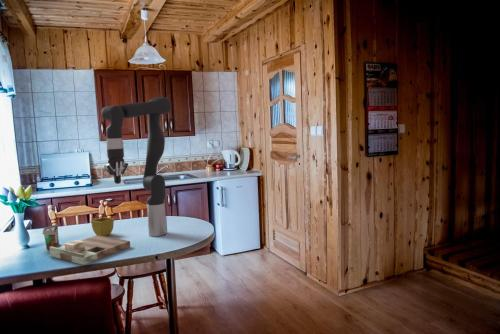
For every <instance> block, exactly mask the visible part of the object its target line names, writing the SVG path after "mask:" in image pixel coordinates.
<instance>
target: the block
mask: <svg viewBox="0 0 500 334" xmlns="http://www.w3.org/2000/svg"><path fill="white" fill-rule="evenodd" d="M64 246H65V250H69V251H73V252H80V251H83V250H85V242H84V241H80V240H79V239H75V240H72V241H68V242H65V243H64Z"/></svg>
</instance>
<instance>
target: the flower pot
mask: <svg viewBox="0 0 500 334" xmlns="http://www.w3.org/2000/svg"><path fill="white" fill-rule="evenodd" d="M114 222H115V218H111V217H104V216H103V217H99V218H96V219H92V220H90V223H91V227H92V231H93V233H94V234H95V236H96V235H100V236H105V237H108V236H109V235H111V234H112V232H113V230H114V226H115V225H114Z"/></svg>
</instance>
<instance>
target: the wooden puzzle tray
mask: <svg viewBox="0 0 500 334" xmlns="http://www.w3.org/2000/svg"><path fill="white" fill-rule="evenodd" d="M80 241H84V242H85V250H83V251H80V252H73V251H69V250H65V245H62V246H58V247H57V248H56V247H52V246H51V247H49V248H50V250H49V255H50V257H51V258H56V259H60V260H63V261H67V262H71V263H75V264H78V265H79V264H80V265H84V266H85V265H87V264H89V263H92V262H95V261H98V260H99V259H103V258H105V257H108V256H111V255H113V254H115V253H116V254H117V253H118V252H122V251H123V250H127V249H128V248H131V241H130V240H125V239H120V238H116V237H115V238H114V237H111V236H109V237H108V236H100V235H96V234H95V235H93V236H91V237H87V238H84V239H81V240H80Z"/></svg>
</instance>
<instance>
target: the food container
mask: <svg viewBox="0 0 500 334" xmlns="http://www.w3.org/2000/svg"><path fill="white" fill-rule="evenodd" d="M58 228H59V225H58V224H53V225H49V226H46V227H44V228H43V230H42V233H41V234H42V235H43V236H44V241H45V246H46V250H49V251H50V248H49V247H51V246H52V247H56V248H58V247H59V245H60V239H59V229H58Z"/></svg>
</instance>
